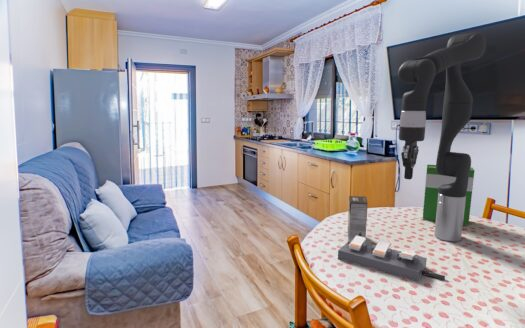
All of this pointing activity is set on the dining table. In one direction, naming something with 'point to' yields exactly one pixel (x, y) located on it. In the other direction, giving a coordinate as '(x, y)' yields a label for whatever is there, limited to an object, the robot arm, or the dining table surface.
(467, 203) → the hardback book
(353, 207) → the coffee box
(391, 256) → the power strip
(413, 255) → the rocker
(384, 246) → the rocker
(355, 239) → the block
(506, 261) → the dining table surface
